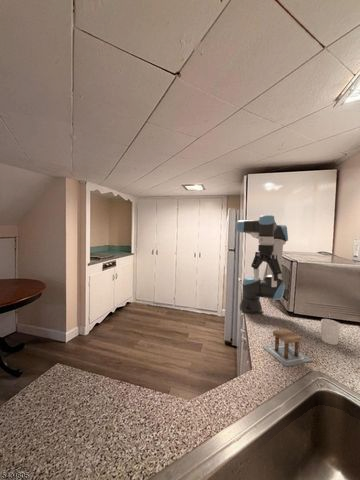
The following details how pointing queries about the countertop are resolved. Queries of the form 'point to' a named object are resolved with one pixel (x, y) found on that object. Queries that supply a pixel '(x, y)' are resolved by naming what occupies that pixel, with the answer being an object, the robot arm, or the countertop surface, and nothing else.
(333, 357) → the countertop surface
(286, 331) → the stool
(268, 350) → the mat
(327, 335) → the white cup
